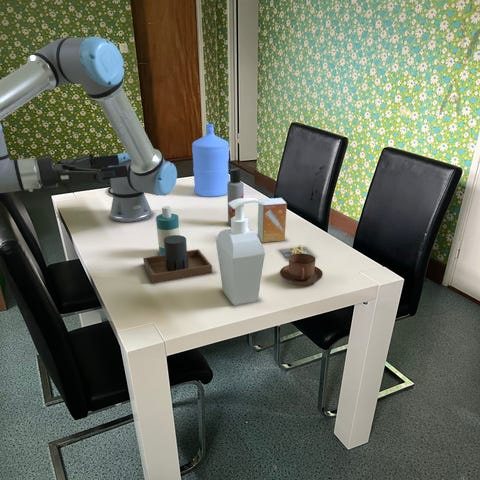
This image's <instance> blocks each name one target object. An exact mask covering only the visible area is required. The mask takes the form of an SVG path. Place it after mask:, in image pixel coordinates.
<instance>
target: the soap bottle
mask: <svg viewBox="0 0 480 480" xmlns="http://www.w3.org/2000/svg"><path fill="white" fill-rule="evenodd" d="M251 203H256V204H258V203H259V204H263V202H262V201H260V200H259V199H257V198H253V197H243V198H240V199H236V200H233V201H231V202H229V203H228V202H227V205H228V204H229V206H231V207H232V208H233V209H235V217H233V218H231V226H230V228H228V229H222V230H221V231H219V232H218V234H217V236H216V239H215V244H216V251H217V259H218V265H219V266H218V267H219V273H220V279H221V280H220V281H221V287H222V293H224V295H225V296H226V297H227V298H228V300H229V302H230V303H231V304H232V305H233V306H238V305H244V304H249V303H252V302H253V303H254V302H257V301H258V299H259V294H260V288H261V282H262V274H263V268H264V262H265V255H266V253H265V250H264V249H265V248H264V246H263V244H262V241H261V240H260V238H259V237H258V234H257V232H255V231H254V230H253V229H252V228H251V227H249V218H248V217H246V216H245V215H244V210H245V209H244V206H245V205H246V204H251Z"/></svg>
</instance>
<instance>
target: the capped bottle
mask: <svg viewBox="0 0 480 480" xmlns="http://www.w3.org/2000/svg"><path fill="white" fill-rule="evenodd" d="M171 208H172V207H171V206H170V205H163V206H162V207H161V214H157V215H156V217H155V222H156V233H157V243H158V244H157V245H158V250H159V255H165V249H164V238H166V237H168V236H172V235H180V236H181V233H180V232H181V231H180V222H179V221H180V220H179V215H178V214H177V213H172V209H171Z"/></svg>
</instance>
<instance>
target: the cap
mask: <svg viewBox="0 0 480 480" xmlns="http://www.w3.org/2000/svg"><path fill="white" fill-rule="evenodd" d="M164 249H165V263H166V269H167V271H175V270H181V269H187V268H188V267H189V266H188V256H187V251H188V246H187V238H186V236H184V235H181V234H180V235H172V236H168V237H166V238H164Z"/></svg>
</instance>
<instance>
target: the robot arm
mask: <svg viewBox="0 0 480 480" xmlns="http://www.w3.org/2000/svg"><path fill="white" fill-rule="evenodd" d="M124 66H125V61H124V59H123V56H122V53H121V52H120V50H119V49H118V47H117V46H116V45H115V44H114V43H113V42H112V41H111V40H109V39H106V38H103V37H98V36H87V37H61V38H59V39H55V40H54V41H52V42H50V43H48V44H46V45H44V46H43V47H42V48H40V49H38V50H37V51H35V52H34V53H32V54H31V55H29V56H28V57H27V59H26V63H25V64H23V65H21V66H20V67H19V68H16V69H14V71H12V72H11V73H9V74H7V75H6V76H5V77H3V78H1V79H0V122H1V121H2V120H3V119H5V118H7V117H8V116H9V115H11V114H12V113H14V112H15V111H16V110H18V109H19V108H20V107H23V106H24V105H26V104H27V103H28V102H30V101H31V100H33V99H34V98H36V97H37V96H39V95H40V94H41V93H43V92H44V91H46V90H47V91H53V90H54V89H56V88H57V87H59V86H63V85H71V84H74V85H81V86H82V88H83V90H84V91H85V93H86V95H87V96H88V98H89V99H90V100H94V101H96V102H97V103H98V105H99V107H100V109H101V110H102V112H103V114H104V116H105V117H106V119H107V121H108V123H109V124H110V126H111V127H112V129H113V131H114V134H115V135H116V136H117V138H118V140H119V142H120V143H121V145H122V147H123V149H124V150H125V152H121V153H120V152H119V153H117V154H110V155H109V154H108V155H99V156H94V153H89V154H87V155H84V156H78V157H73V158H69V159H64V160H57V161H56V164H54V160H53V157H52V156H43V157H41V156H40V157H37V159H35V158H34V157H30V158H18V159H10V155H9V153H8V149H7V143H6V140H5V135H4V131H3V126H2V124H1V123H0V194H5V193H6V194H7V193H14V192H20V191H28V192H30V193H33V192H34V190H40V189H41V188H42V187H43V188H44V189H52V188H57V187H59V182H58V180H60V182H61V183H63V184H65V183H98V184H103V183H104V180H109V181H108V182H107V185H109V186H110V187H109V188H108V190H107V191H108V194H110V195H111V196H112V201H111V207H110V218H111V220H113V221H116V222H120V223H135V222H140V221H145V220H147V219H149V218H150V217H151V216H152V209H151V206H150V204H149V202H148V200H147V198H146V195H145V194H149V195H154V196H157V197H158V196H161V197H162V196H163V197H164V196H165V197H166V196H168V195H170V194H171V193H172V192H173V190H174V189H175V186H176V183H177V178H178V171H177V168H176V165H175V164H174V163H172V162H171V161H166V159H165V158H164V156H163V154H162V152H161V151H160V150H159V149H157V148H154V147H153V144H152V143H151V140H150V139H149V137H148V134H147V132H146V130H145V129H144V127H143V125H142V122H141V121H140V119H139V117H138V115H137V113H136V111H135V109H134V107H133V105H132V104H131V101H130V99H129V97H128V96H127V93H126V92H125V90H124V88H123V86H124V83H125V79H124V75H125V68H124ZM93 167H95V168H93Z"/></svg>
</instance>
